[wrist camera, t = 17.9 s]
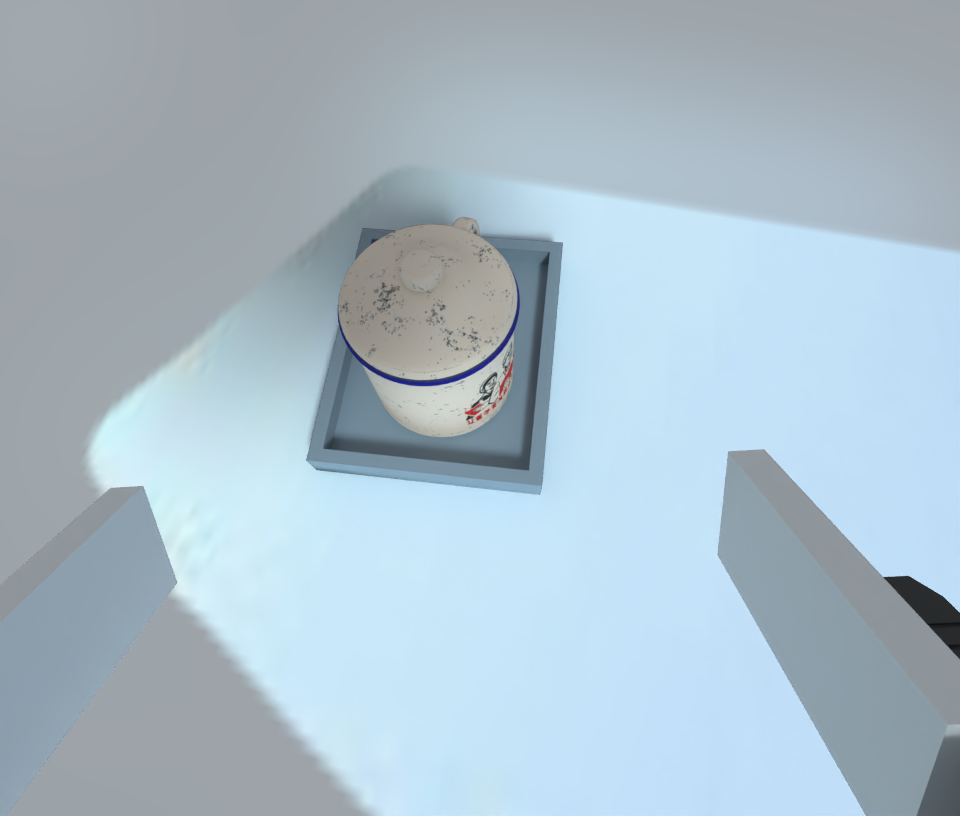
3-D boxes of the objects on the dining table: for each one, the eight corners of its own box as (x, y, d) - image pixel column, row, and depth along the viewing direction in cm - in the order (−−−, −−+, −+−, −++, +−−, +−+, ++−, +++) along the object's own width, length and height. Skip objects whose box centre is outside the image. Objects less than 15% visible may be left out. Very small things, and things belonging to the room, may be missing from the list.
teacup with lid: (497, 458, 35) (493, 374, 24) (353, 424, 36) (287, 329, 25) (541, 291, 39) (554, 155, 28) (411, 265, 40) (376, 126, 29)
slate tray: (560, 260, 40) (562, 242, 39) (540, 494, 34) (542, 485, 32) (369, 246, 42) (362, 228, 40) (316, 470, 35) (306, 460, 34)
